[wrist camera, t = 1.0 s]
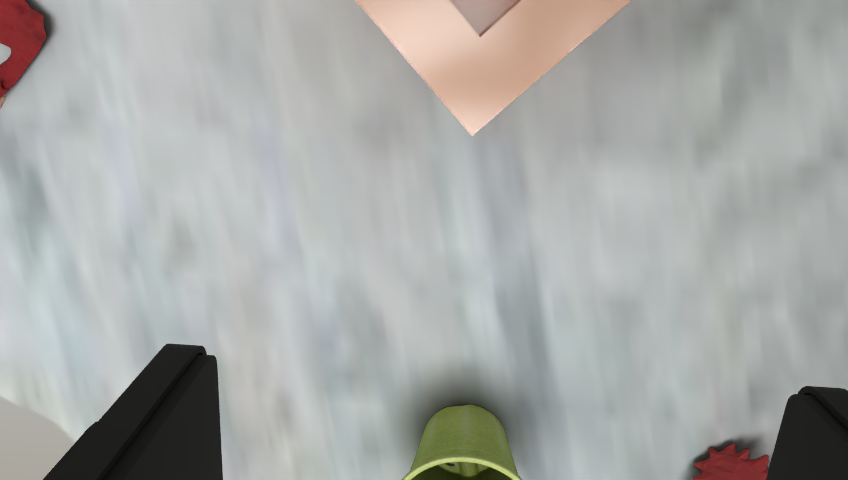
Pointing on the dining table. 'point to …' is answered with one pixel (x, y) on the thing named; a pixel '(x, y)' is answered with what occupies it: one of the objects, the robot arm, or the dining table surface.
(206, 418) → the robot arm
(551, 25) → the pink planter box
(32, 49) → the plate with food
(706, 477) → the decorative bird sculpture
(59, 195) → the dining table surface
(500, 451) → the plant pot
